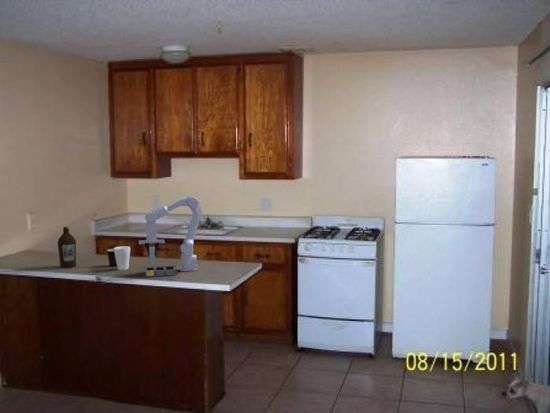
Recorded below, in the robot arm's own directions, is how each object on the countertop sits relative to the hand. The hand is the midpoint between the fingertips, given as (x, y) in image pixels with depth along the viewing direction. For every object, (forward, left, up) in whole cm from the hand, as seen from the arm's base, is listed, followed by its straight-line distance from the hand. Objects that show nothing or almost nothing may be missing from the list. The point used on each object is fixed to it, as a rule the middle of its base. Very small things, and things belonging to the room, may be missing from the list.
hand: (152, 255), depth 335 cm
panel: (0, 0, -3) cm, 3 cm away
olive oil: (+52, -33, -10) cm, 62 cm away
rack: (-4, +3, -10) cm, 11 cm away
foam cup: (+18, -17, -10) cm, 27 cm away
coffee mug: (+22, -28, -10) cm, 37 cm away
